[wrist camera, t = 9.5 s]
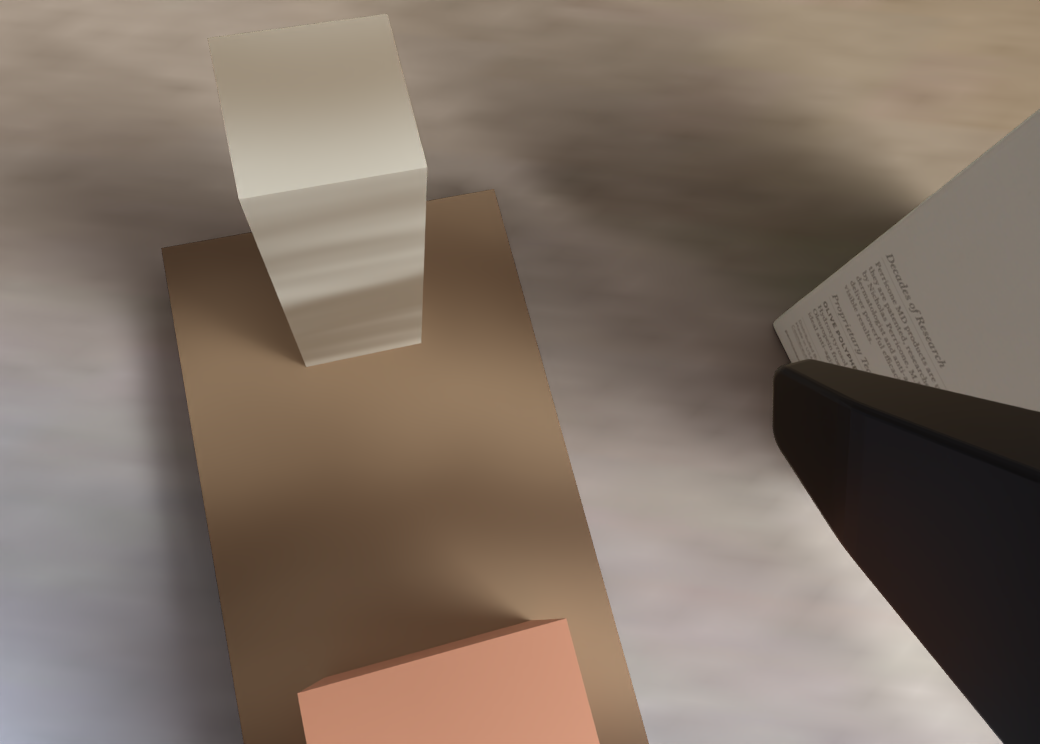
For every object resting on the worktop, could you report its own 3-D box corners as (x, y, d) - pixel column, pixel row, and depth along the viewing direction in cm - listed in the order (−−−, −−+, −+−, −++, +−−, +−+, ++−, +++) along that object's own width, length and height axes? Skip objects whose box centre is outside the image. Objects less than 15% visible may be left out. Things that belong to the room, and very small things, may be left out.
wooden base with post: (672, 869, 21) (904, 1084, 11) (297, 998, 19) (179, 1388, 9) (490, 209, 25) (539, -55, 15) (173, 266, 23) (6, 11, 14)
